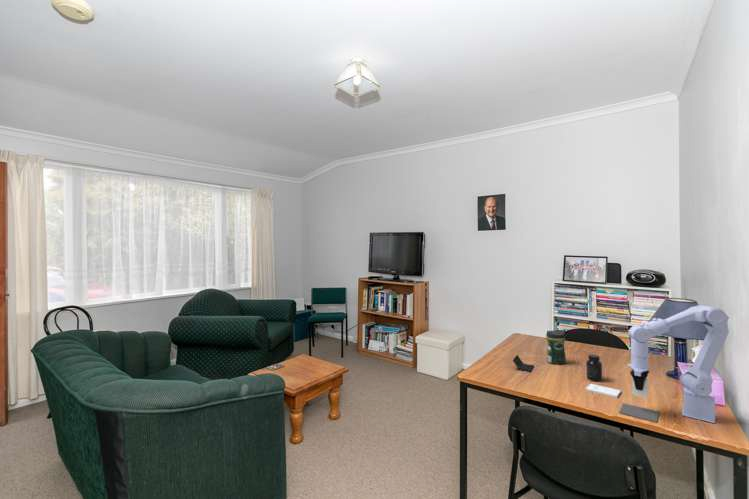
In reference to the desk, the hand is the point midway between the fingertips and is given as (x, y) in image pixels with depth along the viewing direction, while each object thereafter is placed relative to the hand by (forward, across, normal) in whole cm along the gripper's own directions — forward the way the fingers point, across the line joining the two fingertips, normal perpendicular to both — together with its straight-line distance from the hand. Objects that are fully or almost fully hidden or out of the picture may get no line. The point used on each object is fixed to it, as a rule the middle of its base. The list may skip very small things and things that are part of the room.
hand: (639, 388), depth 146 cm
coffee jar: (+9, -42, -43) cm, 60 cm away
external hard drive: (+10, -12, -15) cm, 22 cm away
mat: (+9, +3, 0) cm, 9 cm away
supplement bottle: (+9, -26, -21) cm, 35 cm away
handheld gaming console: (+10, -20, -54) cm, 59 cm away
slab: (+3, 0, 0) cm, 3 cm away
